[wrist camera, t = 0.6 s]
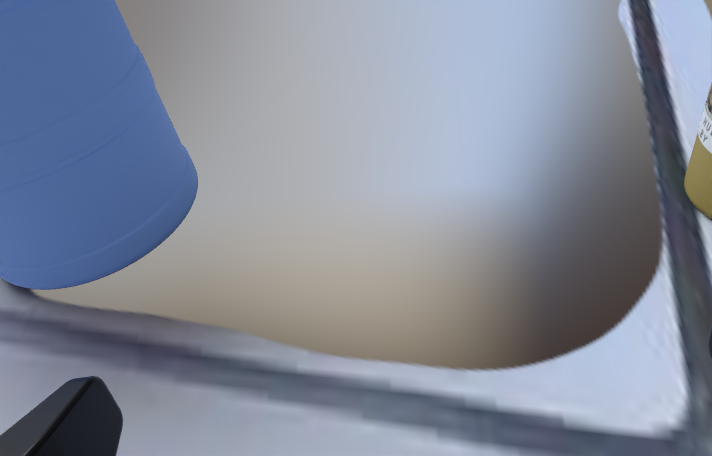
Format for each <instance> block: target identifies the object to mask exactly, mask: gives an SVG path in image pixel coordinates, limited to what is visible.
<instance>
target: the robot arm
mask: <svg viewBox="0 0 712 456" xmlns="http://www.w3.org/2000/svg"><path fill="white" fill-rule="evenodd" d="M708 349H709V353H710V356H711V359H712V325H711V329H710V334H709V339H708ZM122 425H123V418H122V413H121V410H120V408H119V406H118V405H117V403H116V401H115V400H114V398H113V396H112V395H111V393H110V391H109V390H108V388H107V386H106V385H105V383H104V382H103V380H102V379H100V378H99V377H95V376H91V377H83V378H75V379H72V380H70V381H68V382H66V383H65V384H64V385H63V386H61V387H60V388H59V389H58V390H56V391H55V392H54V393H53V394H51V395H50V396H49V397H48V398H46V399H45V400H44V401H43V402H42V403H40V404H39V405H38V406H37V407H35V408H34V409H33V410H32V411H30V412H29V413H28V414H27V415H25V416H24V417H23V418H22V419H21V420H19V421H18V422H17V423H16V424H14V425H13V426H12V427H11V428H9V429H8V430H7V431H6V432H4V433H3V434H2V435H1V436H0V456H116V453H117V449H118V444H119V440H120V435H121V431H122Z"/></svg>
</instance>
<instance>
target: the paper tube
mask: <svg viewBox="0 0 712 456" xmlns="http://www.w3.org/2000/svg"><path fill="white" fill-rule="evenodd" d="M684 186H685V191H686V193H687V195H688V197H689V199H690V200H691V202H692V203H693V205H694V206H695V207H696V208H697V209H698V210H699V211H701V212H702V213H703V214H705V215H706V216H708V217H709V218H711V219H712V84H711V87H710V91H709V94H708V98H707V101H706V104H705V108H704V111H703V115H702V118H701V122H700V125H699V129H698V134H697V137H696V141H695V144H694V148H693V151H692V155H691V158H690V162H689V165H688V168H687V172H686V175H685V183H684Z"/></svg>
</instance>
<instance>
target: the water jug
mask: <svg viewBox="0 0 712 456" xmlns="http://www.w3.org/2000/svg"><path fill="white" fill-rule="evenodd" d="M197 187H198V178H197V172H196V169H195V167H194V164H193V162H192V160H191V158H190V156H189V154H188V151H187V150H186V148H185V147H184V146H183V145H182V144H181V141H180V139H179V137H178V135H177V133H176V131H175V129H174V127H173V125H172V122H171V120H170V118H169V116H168V114H167V112H166V109H165V107H164V105H163V103H162V101H161V99H160V97H159V94H158V92H157V90H156V88H155V84H154V80H153V77H152V74H151V72H150V70H149V68H148V66H147V64H146V61H145V59H144V57H143V55H142V53H141V52H140V50H139V48H138V46H137V45H136V44H135V43H134V41H133V39H132V37H131V35H130V32H129V30H128V28H127V26H126V24H125V22H124V20H123V17H122V15H121V13H120V11H119V9H118V7H117V5H116V3H115V1H114V0H0V278H2V279H3V280H5V281H7V282H9V283H11V284H14V285H16V286H20V287H24V288H29V289H42V290H45V289H60V288H67V287H72V286H77V285H81V284H84V283H88V282H91V281H94V280H97V279H100V278H103V277H105V276H108V275H110V274H112V273H115V272H117V271H119V270H121V269H123V268H125V267H127V266H128V265H130V264H132V263H134V262H136V261H137V260H139V259H140V258H142V257H143V256H145V255H146V254H148V253H149V252H150V251H152V250H153V249H154V248H156V247H157V246H158V245H160V244H161V243H162V242H163V241H164V240H165V239H166V238H168V237H169V236H170V235H171V234H172V233H173V232H174V231H175V229H176V228H177V227H178V226H179V225H180V224H181V222H182V221H183V219H184V218H185V217H186V215H187V214H188V212H189V210H190V209H191V206H192V204H193V202H194V199H195V197H196V192H197Z"/></svg>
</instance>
